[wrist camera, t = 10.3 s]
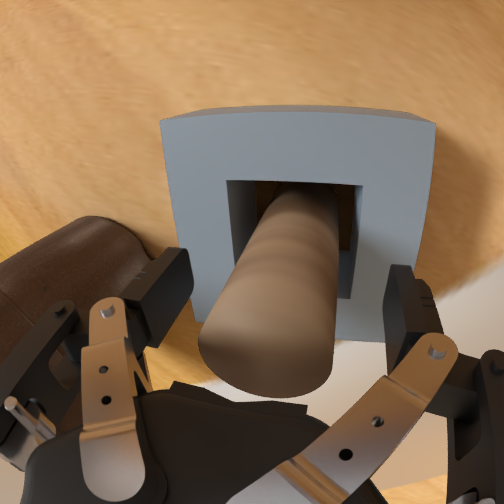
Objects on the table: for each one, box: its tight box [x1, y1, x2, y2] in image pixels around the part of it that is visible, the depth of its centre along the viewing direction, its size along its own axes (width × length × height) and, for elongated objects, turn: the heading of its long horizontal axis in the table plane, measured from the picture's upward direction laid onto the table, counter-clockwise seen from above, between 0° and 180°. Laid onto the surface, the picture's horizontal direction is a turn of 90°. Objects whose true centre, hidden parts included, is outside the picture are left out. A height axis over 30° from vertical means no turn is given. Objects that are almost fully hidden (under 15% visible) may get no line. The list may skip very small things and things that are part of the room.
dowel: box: [198, 181, 339, 398], centre depth 14 cm, size 4×4×12 cm
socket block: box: [160, 105, 436, 343], centre depth 16 cm, size 12×12×5 cm
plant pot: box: [0, 216, 152, 437], centre depth 20 cm, size 16×16×16 cm
